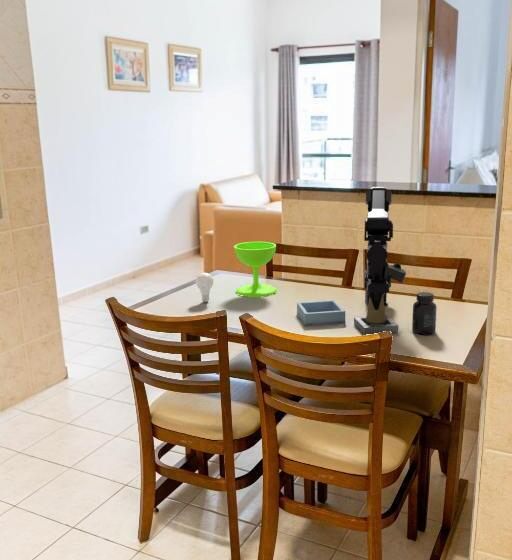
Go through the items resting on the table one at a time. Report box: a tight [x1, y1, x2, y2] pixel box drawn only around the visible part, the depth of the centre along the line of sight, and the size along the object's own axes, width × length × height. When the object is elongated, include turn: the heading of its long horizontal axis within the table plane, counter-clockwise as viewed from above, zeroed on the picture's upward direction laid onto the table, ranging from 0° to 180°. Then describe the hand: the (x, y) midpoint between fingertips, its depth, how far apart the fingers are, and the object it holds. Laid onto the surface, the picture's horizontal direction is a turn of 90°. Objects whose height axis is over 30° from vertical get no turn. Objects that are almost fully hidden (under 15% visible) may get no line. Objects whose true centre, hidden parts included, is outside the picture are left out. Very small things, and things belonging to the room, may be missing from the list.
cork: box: [366, 293, 386, 323], centre depth 187 cm, size 6×6×11 cm
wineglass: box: [233, 241, 278, 298], centre depth 233 cm, size 16×16×18 cm
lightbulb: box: [195, 272, 214, 303], centre depth 222 cm, size 6×6×11 cm
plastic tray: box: [296, 299, 346, 327], centre depth 200 cm, size 13×13×4 cm
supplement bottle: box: [411, 291, 438, 337], centre depth 184 cm, size 7×7×12 cm
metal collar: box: [353, 314, 399, 336], centre depth 189 cm, size 11×11×2 cm
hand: (376, 307), depth 187 cm, fingers closed on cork, 4 cm apart
